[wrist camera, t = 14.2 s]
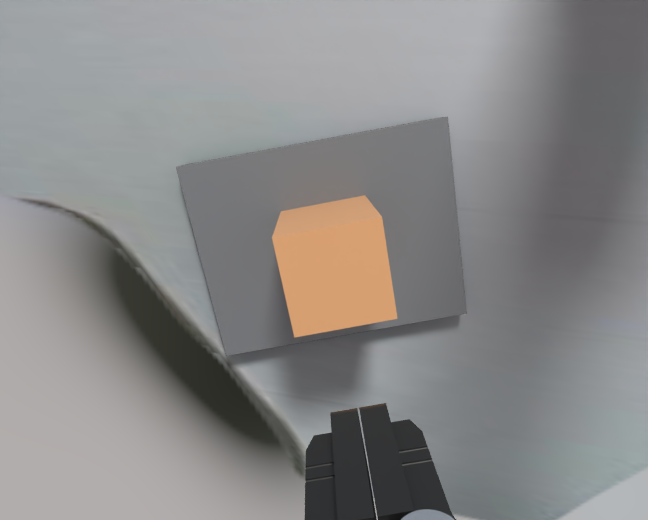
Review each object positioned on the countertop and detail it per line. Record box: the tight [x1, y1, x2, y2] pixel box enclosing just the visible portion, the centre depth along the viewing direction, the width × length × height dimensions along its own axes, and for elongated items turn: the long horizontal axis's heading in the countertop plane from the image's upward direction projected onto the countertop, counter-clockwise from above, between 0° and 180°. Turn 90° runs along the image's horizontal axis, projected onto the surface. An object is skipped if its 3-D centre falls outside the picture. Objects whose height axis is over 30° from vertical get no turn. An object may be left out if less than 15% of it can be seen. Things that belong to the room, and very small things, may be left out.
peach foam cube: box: [272, 195, 398, 338], centre depth 28 cm, size 6×6×8 cm
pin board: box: [176, 117, 467, 356], centre depth 29 cm, size 18×14×7 cm
